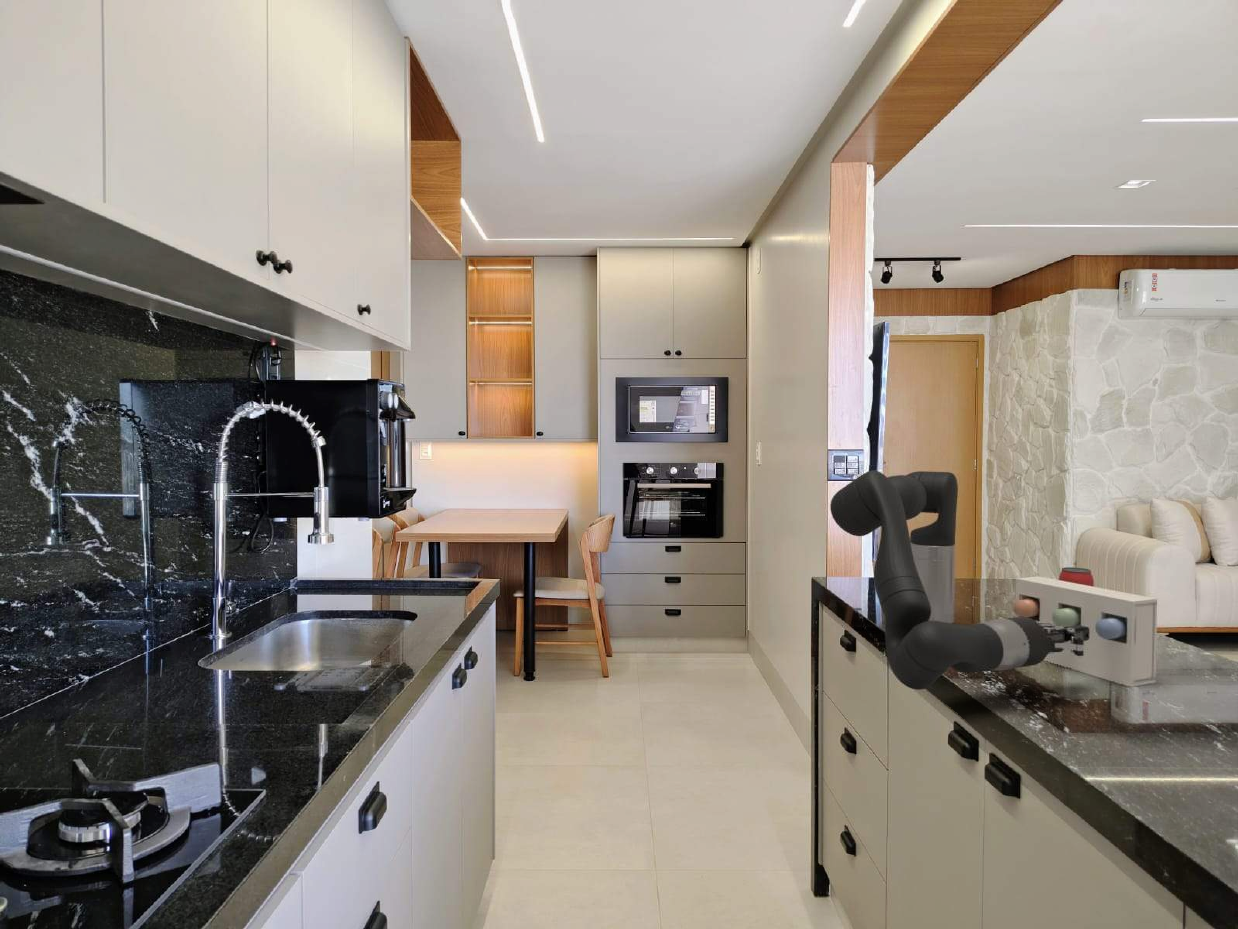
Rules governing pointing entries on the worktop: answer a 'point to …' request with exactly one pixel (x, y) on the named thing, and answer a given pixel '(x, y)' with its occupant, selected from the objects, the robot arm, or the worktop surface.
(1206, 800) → the worktop surface
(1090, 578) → the beer can
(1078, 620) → the sage button
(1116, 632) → the blue button
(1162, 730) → the worktop surface
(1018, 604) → the terracotta button
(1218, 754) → the worktop surface
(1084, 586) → the console
